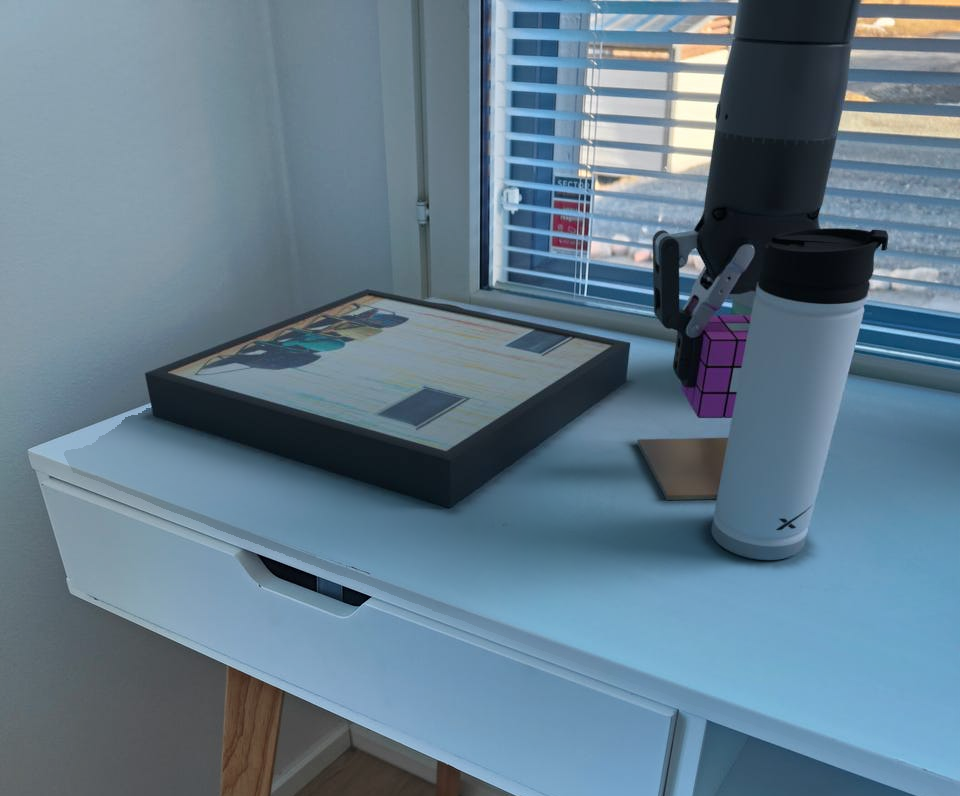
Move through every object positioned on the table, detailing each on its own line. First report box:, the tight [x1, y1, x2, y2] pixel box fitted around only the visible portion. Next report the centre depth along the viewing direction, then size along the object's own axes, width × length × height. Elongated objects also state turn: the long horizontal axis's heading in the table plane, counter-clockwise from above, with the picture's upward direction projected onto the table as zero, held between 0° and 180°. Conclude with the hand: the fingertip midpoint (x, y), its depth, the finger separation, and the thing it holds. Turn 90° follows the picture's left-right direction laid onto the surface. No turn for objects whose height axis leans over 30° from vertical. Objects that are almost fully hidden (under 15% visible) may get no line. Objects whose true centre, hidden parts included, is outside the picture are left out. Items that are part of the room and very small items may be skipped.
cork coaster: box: [636, 437, 728, 501], centre depth 73 cm, size 10×10×1 cm
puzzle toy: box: [680, 314, 751, 419], centre depth 68 cm, size 6×6×6 cm
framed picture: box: [144, 288, 631, 509], centre depth 83 cm, size 30×4×30 cm
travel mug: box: [710, 227, 889, 561], centre depth 58 cm, size 6×7×20 cm
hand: (730, 382), depth 69 cm, fingers closed on puzzle toy, 6 cm apart
